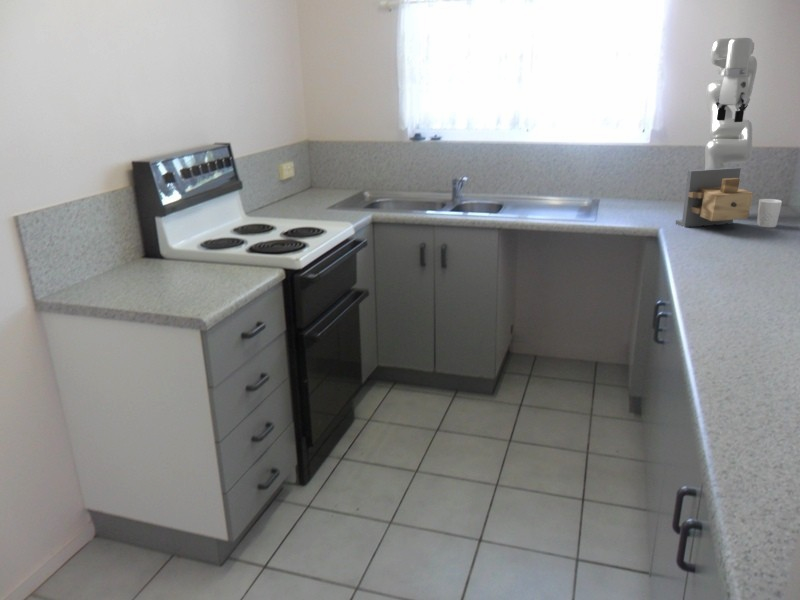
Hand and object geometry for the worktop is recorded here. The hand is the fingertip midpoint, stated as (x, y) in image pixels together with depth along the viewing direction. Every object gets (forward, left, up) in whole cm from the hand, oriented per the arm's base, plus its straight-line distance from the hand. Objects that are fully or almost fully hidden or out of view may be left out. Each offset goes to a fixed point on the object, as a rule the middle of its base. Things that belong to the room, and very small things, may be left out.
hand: (729, 121), depth 250 cm
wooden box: (+2, +5, -35) cm, 36 cm away
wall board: (+2, -2, -40) cm, 40 cm away
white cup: (-18, +7, -40) cm, 45 cm away
